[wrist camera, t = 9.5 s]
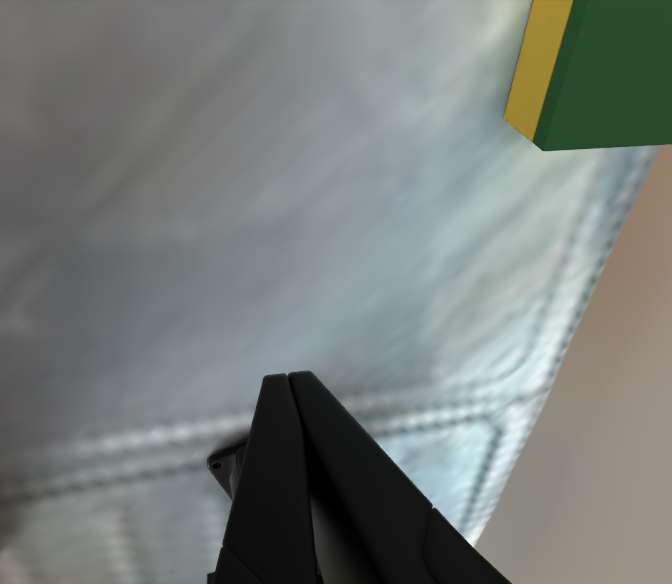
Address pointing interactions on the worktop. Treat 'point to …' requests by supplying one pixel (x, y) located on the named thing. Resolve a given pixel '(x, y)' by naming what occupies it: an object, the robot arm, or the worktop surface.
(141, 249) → the worktop surface
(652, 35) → the sponge
